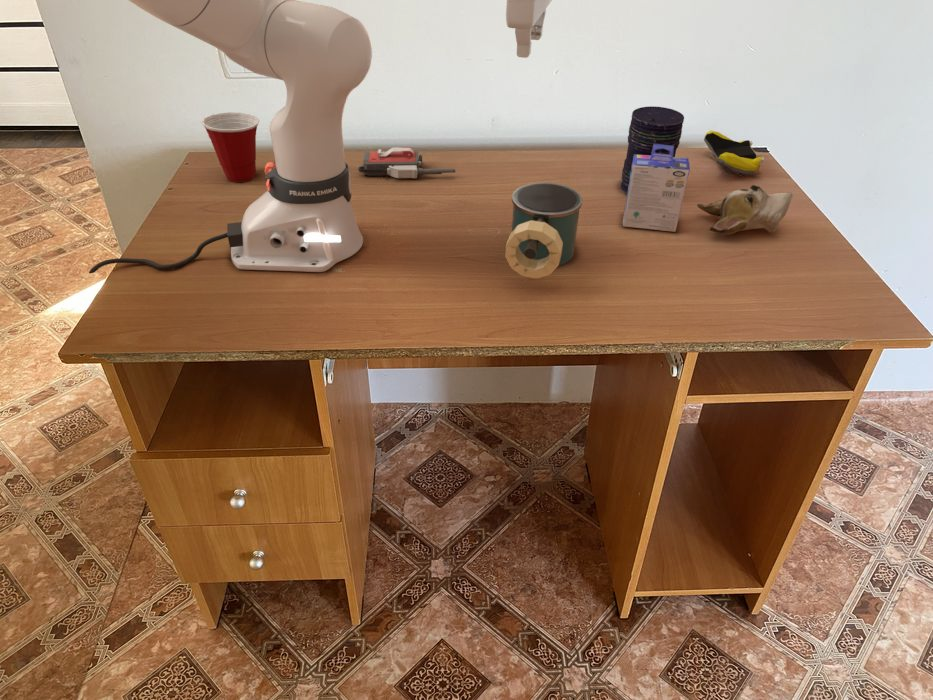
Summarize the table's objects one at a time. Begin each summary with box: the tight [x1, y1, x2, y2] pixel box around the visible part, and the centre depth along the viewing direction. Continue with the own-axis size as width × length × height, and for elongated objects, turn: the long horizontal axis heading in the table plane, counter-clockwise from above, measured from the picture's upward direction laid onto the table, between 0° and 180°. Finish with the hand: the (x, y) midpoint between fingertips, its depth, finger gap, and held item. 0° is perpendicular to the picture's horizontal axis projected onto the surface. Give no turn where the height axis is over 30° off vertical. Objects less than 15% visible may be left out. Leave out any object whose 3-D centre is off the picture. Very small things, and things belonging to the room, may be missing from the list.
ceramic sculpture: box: [696, 184, 793, 236], centre depth 123 cm, size 11×9×15 cm
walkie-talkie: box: [357, 146, 456, 179], centre depth 142 cm, size 9×4×20 cm
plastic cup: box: [201, 111, 260, 183], centre depth 138 cm, size 11×11×12 cm
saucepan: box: [511, 182, 583, 266], centre depth 112 cm, size 22×12×10 cm, turn 166°
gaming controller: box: [703, 130, 765, 178], centre depth 145 cm, size 15×6×10 cm
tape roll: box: [504, 220, 563, 279], centre depth 106 cm, size 8×3×8 cm, turn 76°
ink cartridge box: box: [622, 144, 691, 233], centre depth 123 cm, size 10×6×14 cm, turn 78°
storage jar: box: [619, 106, 685, 195], centre depth 134 cm, size 10×10×15 cm
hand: (529, 47), depth 100 cm, fingers open, 8 cm apart
